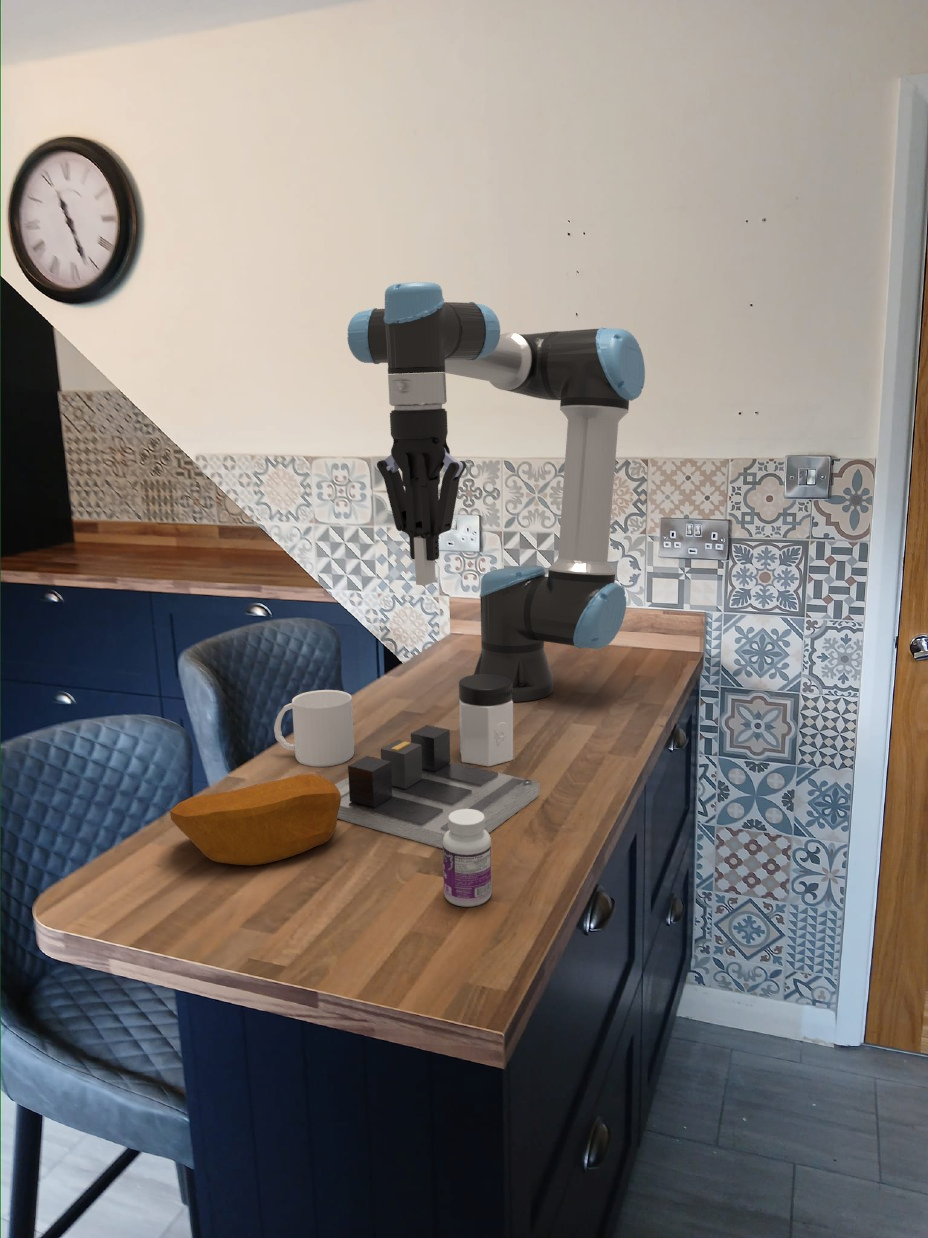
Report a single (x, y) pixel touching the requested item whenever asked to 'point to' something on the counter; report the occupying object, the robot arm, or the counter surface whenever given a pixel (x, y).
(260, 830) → the bread
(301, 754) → the mug
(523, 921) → the counter surface
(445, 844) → the pill bottle
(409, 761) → the handle
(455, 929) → the counter surface
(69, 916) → the counter surface
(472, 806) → the panel
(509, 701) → the jar
